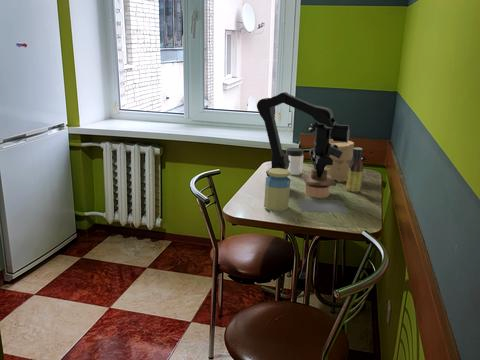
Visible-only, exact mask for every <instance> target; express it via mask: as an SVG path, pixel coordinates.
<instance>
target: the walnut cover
mask: <svg viewBox="0 0 480 360" xmlns="http://www.w3.org/2000/svg"><path fill="white" fill-rule="evenodd" d="M301 178H302V180H303V182H304V183H306V185H324V186H330V187H336V186H337V181H336V180H333V178H332V177H331V176H330V175H327V170H325V169H324V171H323V173H322V176H321V178H318V176H317V172H316V169H314V168H311V172H310V173H301Z"/></svg>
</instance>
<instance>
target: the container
mask: <svg viewBox="0 0 480 360" xmlns="http://www.w3.org/2000/svg"><path fill="white" fill-rule="evenodd" d="M329 143H330V144H331V146H332V145H333V144H335V145H337V146H338V149H340V150H341V151H342V152H343V153H342V155H341V157H340V159H338V158H337V157H335V156H332V155H330V158H331V159H332V160H333V165H327V166H325V168H324V169H325V170H327V175H330V176H331V177H332V178H333V180H334V181H336V183H345V182H347V175H348V166H349V163H350V161H351V159H352V157H353V148H355V147H354V146H355V142H353V141H352V140H348V143H347V142H339V141H333V139H332V138H330V140H329Z"/></svg>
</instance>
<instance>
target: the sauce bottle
mask: <svg viewBox="0 0 480 360" xmlns="http://www.w3.org/2000/svg"><path fill="white" fill-rule="evenodd" d="M362 154H363V148H362V147H353V156H352V159H351V161H350V163H349V166H348V175H347V181H346V184H345V185H346V186H345V189H346V190H345V191H347V192H349V193H353V194H357V193H361V190H362V182H363V174H364V173H363V172H364V163H363V160H362Z"/></svg>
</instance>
